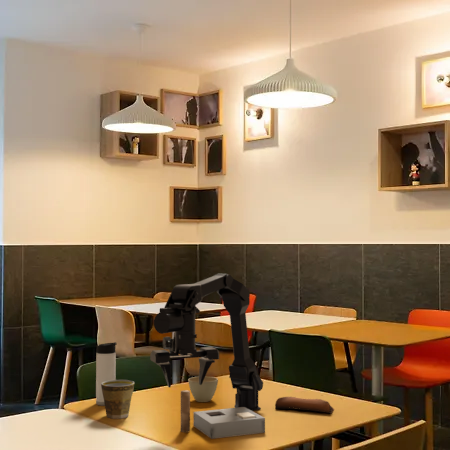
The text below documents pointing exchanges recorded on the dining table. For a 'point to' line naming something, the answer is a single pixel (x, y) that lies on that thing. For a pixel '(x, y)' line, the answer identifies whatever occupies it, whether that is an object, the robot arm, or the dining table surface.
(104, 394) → the ceramic cup
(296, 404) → the sunglasses case
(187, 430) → the tan rounded rod
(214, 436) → the panel
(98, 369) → the travel mug
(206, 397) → the flower pot
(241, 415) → the on button
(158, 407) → the dining table surface
